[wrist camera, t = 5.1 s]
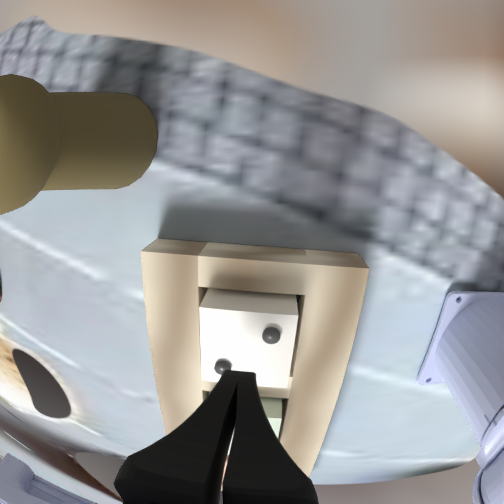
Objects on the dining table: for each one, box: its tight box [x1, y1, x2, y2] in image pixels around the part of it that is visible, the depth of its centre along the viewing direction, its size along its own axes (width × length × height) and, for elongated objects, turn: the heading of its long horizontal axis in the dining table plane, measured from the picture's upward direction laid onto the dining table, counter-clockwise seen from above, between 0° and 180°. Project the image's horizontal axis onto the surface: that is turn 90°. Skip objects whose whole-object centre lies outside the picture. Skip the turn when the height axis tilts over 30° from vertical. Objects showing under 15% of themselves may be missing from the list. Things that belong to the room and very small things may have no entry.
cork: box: [0, 74, 158, 215], centre depth 11 cm, size 6×6×11 cm
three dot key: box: [209, 391, 282, 455], centre depth 19 cm, size 5×5×3 cm
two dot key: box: [199, 287, 298, 388], centre depth 17 cm, size 5×5×3 cm
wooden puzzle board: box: [141, 239, 369, 491], centre depth 20 cm, size 12×24×2 cm, turn 177°
